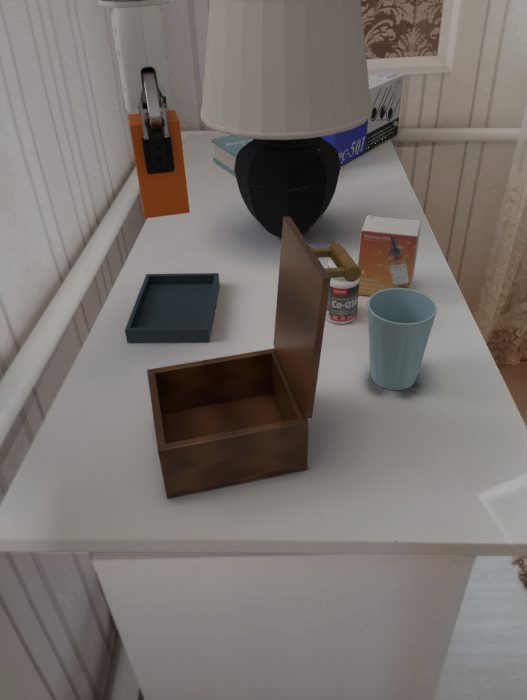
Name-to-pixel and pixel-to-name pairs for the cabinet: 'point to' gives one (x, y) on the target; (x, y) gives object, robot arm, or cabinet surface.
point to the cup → (398, 335)
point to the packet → (162, 188)
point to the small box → (387, 253)
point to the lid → (305, 308)
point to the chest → (226, 422)
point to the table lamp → (286, 98)
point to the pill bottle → (342, 299)
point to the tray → (174, 308)
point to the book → (228, 151)
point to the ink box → (373, 118)
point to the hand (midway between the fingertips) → (158, 162)
